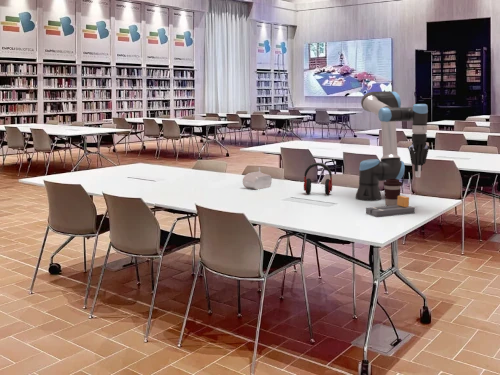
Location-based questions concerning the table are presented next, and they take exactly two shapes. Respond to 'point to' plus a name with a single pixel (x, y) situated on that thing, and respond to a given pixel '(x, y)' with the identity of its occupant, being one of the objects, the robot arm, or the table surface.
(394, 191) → the coffee cup
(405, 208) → the slider console
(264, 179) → the vr headset
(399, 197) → the fader tab
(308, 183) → the headphones
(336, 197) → the table surface
